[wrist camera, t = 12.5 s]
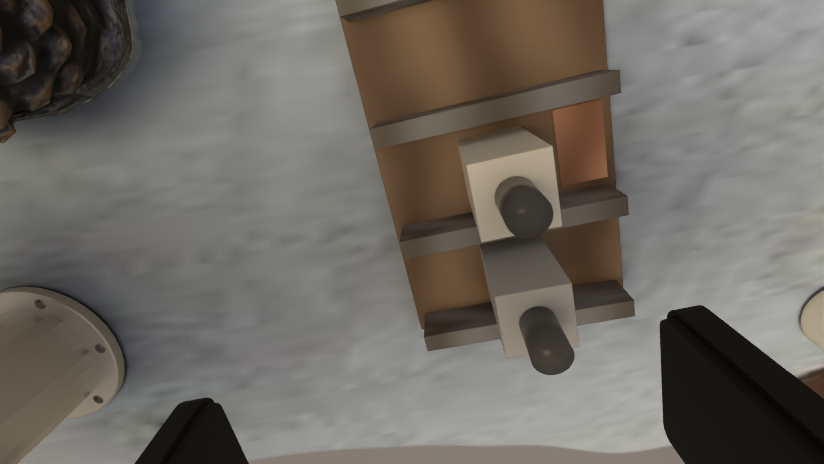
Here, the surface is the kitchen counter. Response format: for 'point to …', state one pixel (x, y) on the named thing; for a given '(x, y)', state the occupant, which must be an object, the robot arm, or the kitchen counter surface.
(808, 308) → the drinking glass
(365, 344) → the kitchen counter surface
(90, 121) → the kitchen counter surface
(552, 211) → the cream plug
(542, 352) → the grey plug
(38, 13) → the decorative house
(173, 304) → the kitchen counter surface
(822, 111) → the kitchen counter surface
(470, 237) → the wooden divided tray
